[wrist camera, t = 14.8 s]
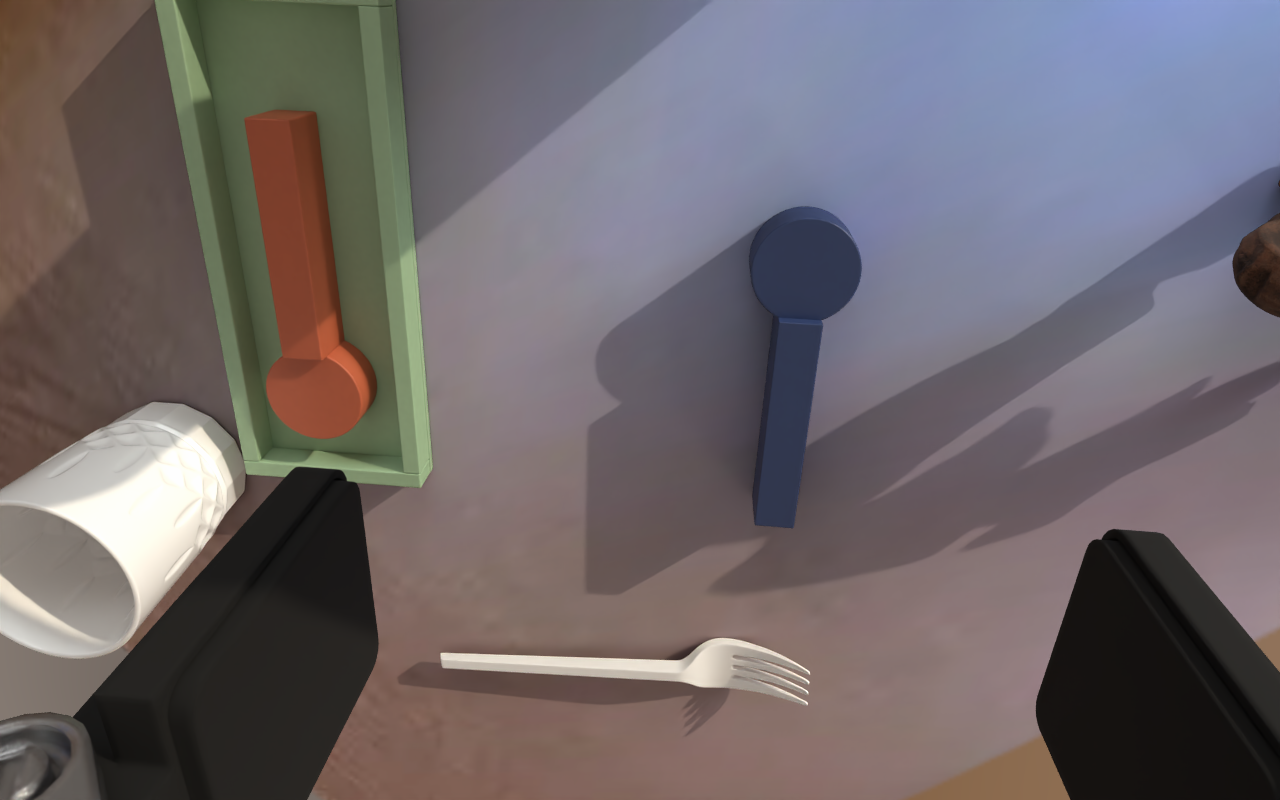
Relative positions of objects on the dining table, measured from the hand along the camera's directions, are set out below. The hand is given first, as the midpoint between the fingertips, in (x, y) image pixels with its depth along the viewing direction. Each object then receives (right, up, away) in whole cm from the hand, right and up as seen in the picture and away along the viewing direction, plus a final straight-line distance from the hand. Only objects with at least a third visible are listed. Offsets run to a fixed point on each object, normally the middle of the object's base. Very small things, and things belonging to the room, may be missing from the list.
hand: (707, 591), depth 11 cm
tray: (-15, +9, +26) cm, 32 cm away
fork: (-2, -12, +35) cm, 37 cm away
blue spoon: (+6, +5, +26) cm, 28 cm away
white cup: (-24, 0, +32) cm, 40 cm away
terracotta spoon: (-15, +7, +27) cm, 32 cm away
